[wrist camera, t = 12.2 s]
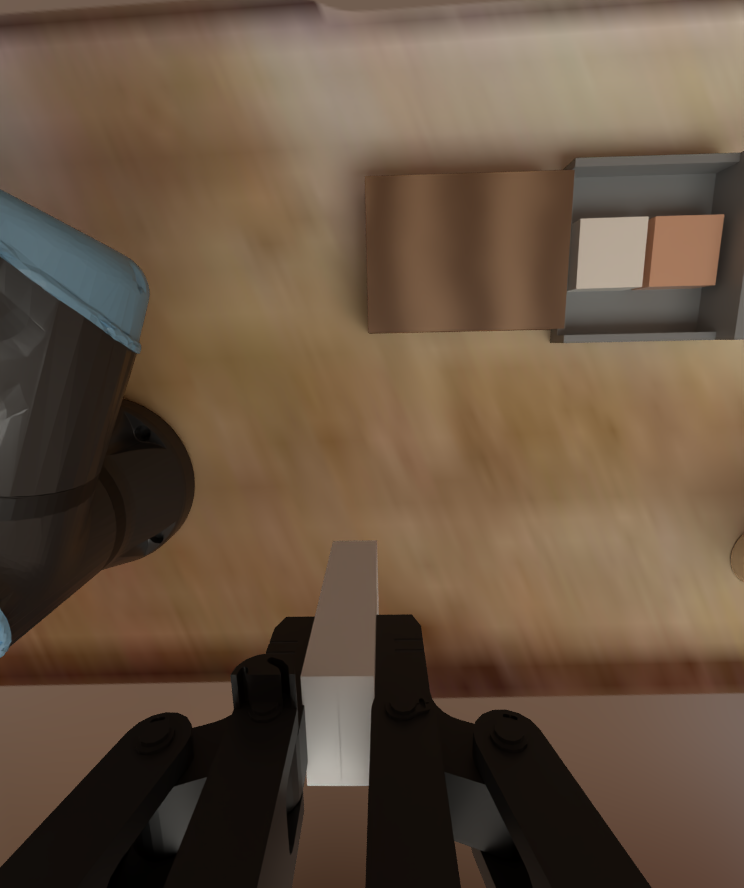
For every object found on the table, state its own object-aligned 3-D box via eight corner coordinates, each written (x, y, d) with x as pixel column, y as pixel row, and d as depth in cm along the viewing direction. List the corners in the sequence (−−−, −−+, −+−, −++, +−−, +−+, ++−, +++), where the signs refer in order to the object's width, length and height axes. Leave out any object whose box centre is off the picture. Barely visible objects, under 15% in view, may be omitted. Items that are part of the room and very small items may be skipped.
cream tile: (563, 292, 38) (576, 288, 36) (567, 226, 37) (580, 218, 35) (625, 290, 38) (642, 286, 36) (631, 224, 37) (648, 216, 35)
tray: (550, 342, 40) (573, 343, 35) (560, 172, 37) (587, 146, 32) (700, 339, 39) (745, 339, 35) (722, 167, 37) (774, 140, 32)
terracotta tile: (715, 285, 36) (693, 288, 38) (724, 214, 35) (701, 222, 37) (648, 286, 36) (631, 290, 38) (656, 216, 35) (637, 224, 37)
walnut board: (369, 333, 40) (368, 332, 36) (366, 193, 38) (364, 176, 34) (546, 329, 40) (564, 328, 36) (554, 187, 37) (574, 169, 33)
